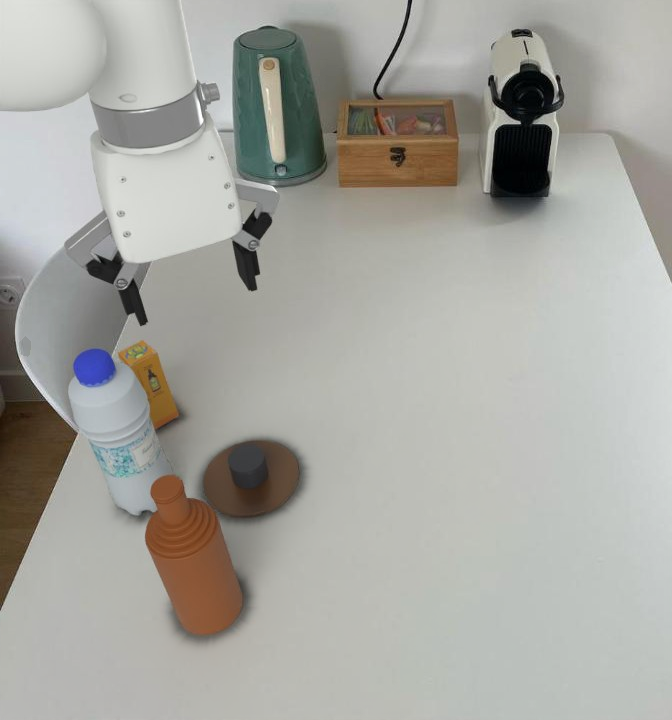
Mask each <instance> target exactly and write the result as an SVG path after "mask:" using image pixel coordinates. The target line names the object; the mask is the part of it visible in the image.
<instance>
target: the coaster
mask: <svg viewBox="0 0 672 720" xmlns="http://www.w3.org/2000/svg"><path fill="white" fill-rule="evenodd" d="M246 444H252V445H256V446H258V447H260V448H261V449H262V450H263V452H264V456H265V460H266V464H267V469H268V476H267V478H266V480H265V481H264V482H263V483H262V484H261V485H260V486H258V487H256V488H252V489H243V488H240V487H238V486H237V485H235V483H234V482H233V479H232V475H231V472H230V468H229V465H228V457H229V455H230V453H231V452H232V451H233V450H234V449H235V448H237V447H239V446H242V445H246ZM299 480H300V470H299V465H298V462H297V460H296V458H295V456H294V454H292V452H291V451H290V450H289V449H287V448H286V447H285V446H283V445H282V444H279V443H276V442H274V441H269V440H261V439H258V440H257V439H256V440H248V441H243V442H240V443H236V444H233V445H232V446H229V447H228V448H225V449H224V450H223V451H221V452H220V453H218V454H217V455H216V456H215V457H214V458H213V460H212V461H211V462H210V463H209V465H208V466H207V468H206V469H205V472H204V475H203V481H202V488H203V492H204V495H205V498H206V500H207V502H208V503H209V505H210V507H212V508H213V509H214V510H216V511H217V512H219V513H220V514H223V515H225V516H227V517H232V518H237V519H251V518H257V517H261V516H263V515H266V514H269V513H271V512H273V511H275V510H277V509H279V508H281V506H283V505H284V504H285V503H286V502H287V501H288V500H289V499H290V498H291V497H292V496H293V494H294V492H295V491H296V489H297V486H298V484H299Z"/></svg>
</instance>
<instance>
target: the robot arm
mask: <svg viewBox="0 0 672 720" xmlns="http://www.w3.org/2000/svg"><path fill="white" fill-rule="evenodd" d="M188 35H189V34H188V31H187V25H186V21H185V15H184V10H183V6H182V0H0V112H15V113H17V112H19V113H20V112H21V113H22V112H24V113H25V112H28V113H29V112H41V111H42V112H43V111H49V110H52V109H53V110H54V109H57V108H61V107H64V106H66V105H69V104H72V103H74V102H77V100H79V99H81V98H82V97H83V96H85V95H86V94H87V93H88V96H89V101H90V105H91V108H92V112H93V114H94V118H95V121H96V125H97V128H98V129H95V131H93V133H91V135H90V139H89V141H90V154H91V162H92V169H93V174H94V179H95V183H96V187H97V192H98V197H99V200H100V204H101V208H102V211H100V212H99V213H98V214H96V216H95V217H93V218H92V219H91V220H90V221H88V222H87V223H86V224H85V225H84V226H82V227H81V228H80V229H78V230H77V231H76V232H75V233H74V234H72V235H71V236H70V237H68V239H66V240H65V241H64V243H63V247H64V250H65V253H66V255H67V256H68V258H70V259H71V260H72V261H74V263H76V264H77V265H78V266H79V267H81V268H82V269H84V270H85V271H86V272H87V274H89V276H91V277H93V278H95V279H98V280H100V281H103V282H106V283H108V284H110V285H113V288H115V290H117V292H118V295H119V298H120V301H121V304H122V307H123V309H124V312H125V314H126V316H131V315H132V314H134V315H135V317H136V320H137V322H138V325H139V327H143V326H146V325H147V323H149V319H148V317H147V313H146V310H145V306H144V304H143V300H142V296H141V294H140V290H139V287H138V285H137V282H136V281H135V278H134V277H135V275H136V274H137V272H138V270H139V268H140V267H141V265H142V264H147V263H151V262H155V261H159V260H162V259H163V260H164V259H166V258H169V257H173V256H176V255H177V256H178V255H180V254H184V253H187V252H190V251H194V250H198V249H202V248H204V247H207V246H212V245H214V244H218V243H221V242H224V241H227V240H229V239H230V240H231V243H232V248H233V253H234V259H235V265H236V268H237V273H238V277H239V278H240V279H241V281H242V282H243V284H244V286H245V287H246V289H247V290H248V292H256V291H258V284H257V280H256V276H260V275H261V269H260V263H259V257H258V252H257V250H259V249H260V247H261V239H262V238H263V237H264V236H265V234H266V233H267V231H268V230H269V228H270V227H271V225H272V224H273V215H274V214H275V212H276V210H277V208H278V203H279V200H280V198H281V197H280V193H279V192H278V191H277V189H275V187H274V186H273V185H269V184H266V183H260V182H255V181H250V180H245V179H240V178H235V177H234V176H233V173H232V169H231V166H230V163H229V159H228V156H227V153H226V150H225V147H224V144H223V141H222V138H221V136H220V134H219V131H218V128H217V126H216V125H215V122H214V120H213V118H212V116H211V114H210V113H209V112H208V111H207V109H208V106H209V105H211V104H212V102H217V101H220V100H221V93H220V90H219V87H218V84H217V83H216V82H215V81H212V82H208V83H206V82H205V81H204V82H200V80H199V79H197V76H196V72H195V65H194V62H193V55H192V50H191V46H190V40H189V36H188ZM240 200H242V201H248V202H253V203H256V205H255V206H256V207H255V208H254V209H253V210H252V211H251V213H250V214H249V216H248V217H247V219H246V220H245V221H244V220H243V212H242V207H241V203H240ZM109 235H110V237H111V240H112V241H113V242H114V243H115V246H116V247H115V249H114V250H113V253H112V254H111V256H110V258H109V259H108V258H107V257H103V256H102V255H99V254H96V253H94V252H93V251H92V249H93V248H94V247H96V246H97V245H98V244H99V243H101V242H102V241H103V240H105V239H106V238H107V237H108V236H109Z"/></svg>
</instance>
